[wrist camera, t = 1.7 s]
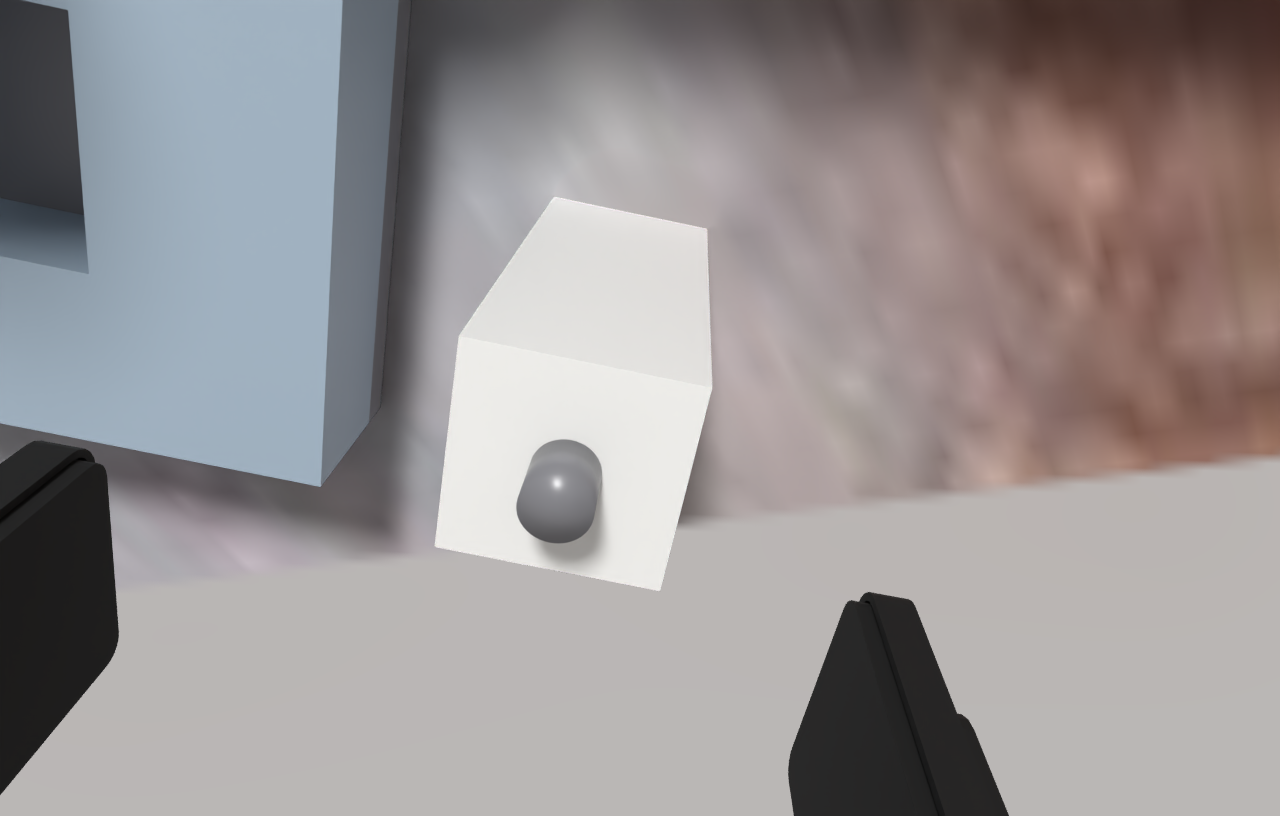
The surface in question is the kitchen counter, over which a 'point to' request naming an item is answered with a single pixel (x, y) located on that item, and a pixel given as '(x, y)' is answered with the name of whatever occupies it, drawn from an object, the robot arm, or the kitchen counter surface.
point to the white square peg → (581, 397)
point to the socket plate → (199, 224)
